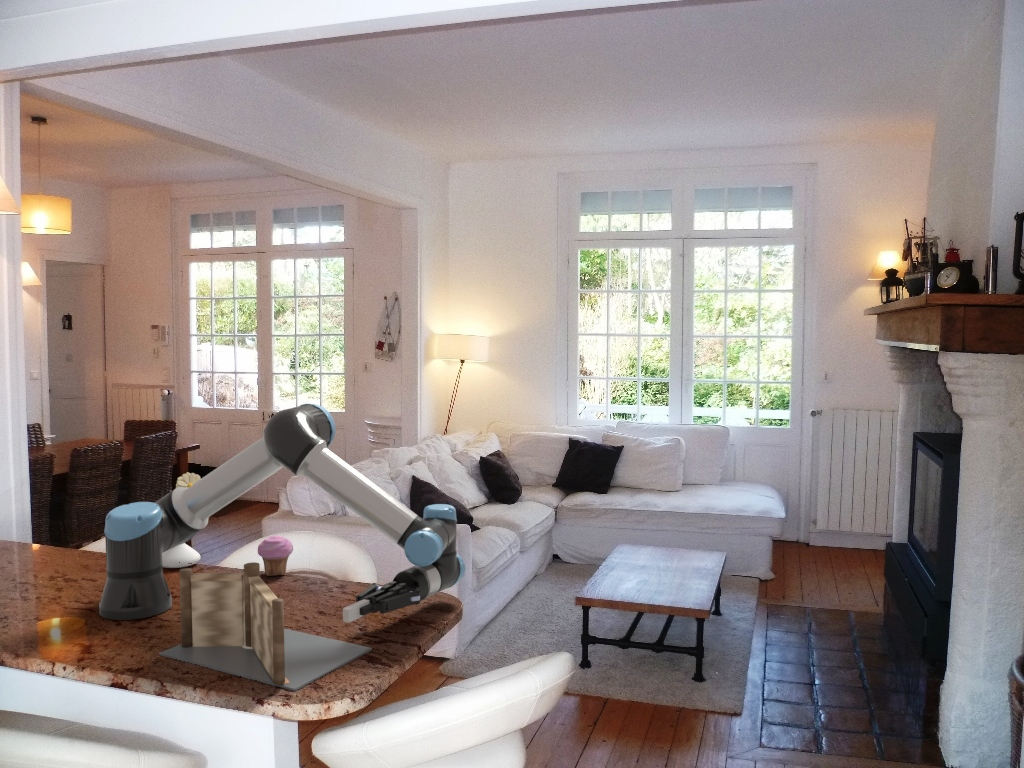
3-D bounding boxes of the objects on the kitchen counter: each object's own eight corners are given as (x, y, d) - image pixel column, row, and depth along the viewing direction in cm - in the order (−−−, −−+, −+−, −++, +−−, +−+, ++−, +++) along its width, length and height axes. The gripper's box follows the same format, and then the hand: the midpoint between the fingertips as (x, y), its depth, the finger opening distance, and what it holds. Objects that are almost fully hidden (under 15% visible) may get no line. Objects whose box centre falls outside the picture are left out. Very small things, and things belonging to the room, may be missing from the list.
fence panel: (250, 646, 172) (248, 572, 171) (260, 644, 173) (258, 571, 172) (275, 685, 154) (273, 602, 152) (286, 683, 154) (284, 601, 153)
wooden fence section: (179, 648, 172) (177, 567, 171) (184, 642, 175) (182, 562, 174) (258, 647, 173) (257, 566, 171) (262, 641, 176) (261, 562, 174)
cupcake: (257, 580, 219) (257, 541, 218) (258, 570, 227) (257, 533, 227) (294, 577, 221) (293, 538, 221) (293, 568, 230) (292, 531, 229)
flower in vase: (155, 573, 224) (153, 478, 223) (154, 562, 235) (152, 471, 233) (209, 568, 230) (206, 474, 228) (205, 557, 240) (203, 468, 238)
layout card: (159, 654, 170) (159, 652, 170) (243, 620, 189) (243, 618, 189) (295, 691, 153) (295, 688, 153) (372, 649, 172) (371, 647, 172)
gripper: (440, 605, 188) (372, 640, 168) (392, 596, 195) (320, 628, 174) (440, 571, 188) (371, 602, 167) (391, 563, 194) (320, 591, 174)
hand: (345, 615), depth 171 cm, fingers closed
